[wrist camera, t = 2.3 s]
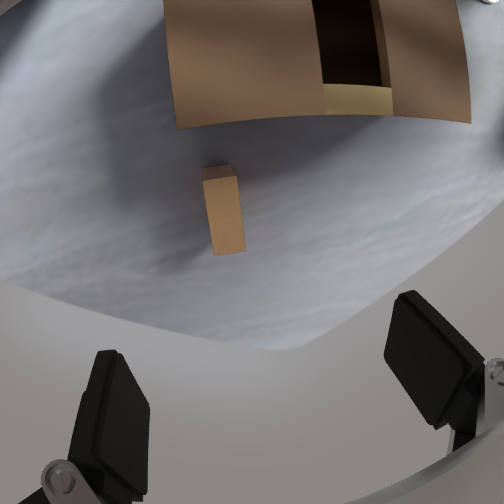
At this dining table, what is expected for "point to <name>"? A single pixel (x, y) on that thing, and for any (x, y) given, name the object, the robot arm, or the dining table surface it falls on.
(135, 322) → the dining table surface
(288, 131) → the dining table surface
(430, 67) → the box
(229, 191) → the tan flat square block
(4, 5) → the plant pot
